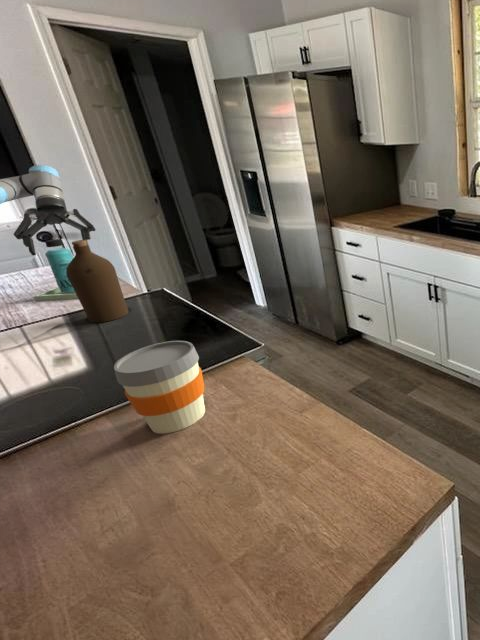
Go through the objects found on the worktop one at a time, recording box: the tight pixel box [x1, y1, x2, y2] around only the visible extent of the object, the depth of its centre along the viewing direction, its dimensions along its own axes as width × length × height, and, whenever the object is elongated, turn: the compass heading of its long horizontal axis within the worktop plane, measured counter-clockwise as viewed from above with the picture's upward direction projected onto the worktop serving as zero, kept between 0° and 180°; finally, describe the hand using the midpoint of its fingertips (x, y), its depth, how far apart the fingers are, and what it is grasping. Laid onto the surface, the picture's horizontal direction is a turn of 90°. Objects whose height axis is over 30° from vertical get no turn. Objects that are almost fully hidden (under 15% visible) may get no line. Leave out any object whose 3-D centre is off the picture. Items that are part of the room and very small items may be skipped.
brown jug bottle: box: [66, 239, 129, 324], centre depth 127 cm, size 11×11×25 cm
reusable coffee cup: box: [113, 340, 206, 435], centre depth 82 cm, size 13×13×15 cm
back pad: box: [33, 286, 79, 302], centre depth 150 cm, size 14×14×2 cm
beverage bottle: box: [44, 238, 75, 293], centre depth 146 cm, size 6×7×20 cm
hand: (60, 249), depth 147 cm, fingers open, 13 cm apart
